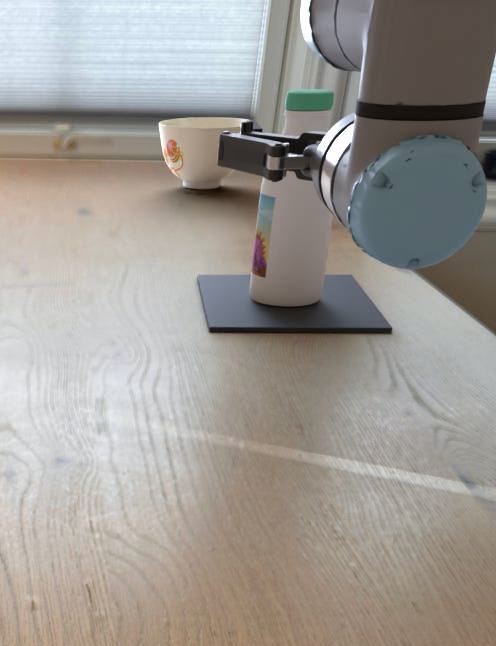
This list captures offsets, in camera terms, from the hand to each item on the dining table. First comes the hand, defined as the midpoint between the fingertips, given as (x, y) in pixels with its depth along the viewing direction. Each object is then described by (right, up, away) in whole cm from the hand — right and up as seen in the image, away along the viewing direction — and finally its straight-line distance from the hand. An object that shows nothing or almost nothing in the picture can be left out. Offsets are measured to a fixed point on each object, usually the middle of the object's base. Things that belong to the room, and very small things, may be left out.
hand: (325, 135), depth 88 cm
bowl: (+5, +34, +83) cm, 90 cm away
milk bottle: (+1, -9, +18) cm, 20 cm away
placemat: (+2, -9, +19) cm, 21 cm away
